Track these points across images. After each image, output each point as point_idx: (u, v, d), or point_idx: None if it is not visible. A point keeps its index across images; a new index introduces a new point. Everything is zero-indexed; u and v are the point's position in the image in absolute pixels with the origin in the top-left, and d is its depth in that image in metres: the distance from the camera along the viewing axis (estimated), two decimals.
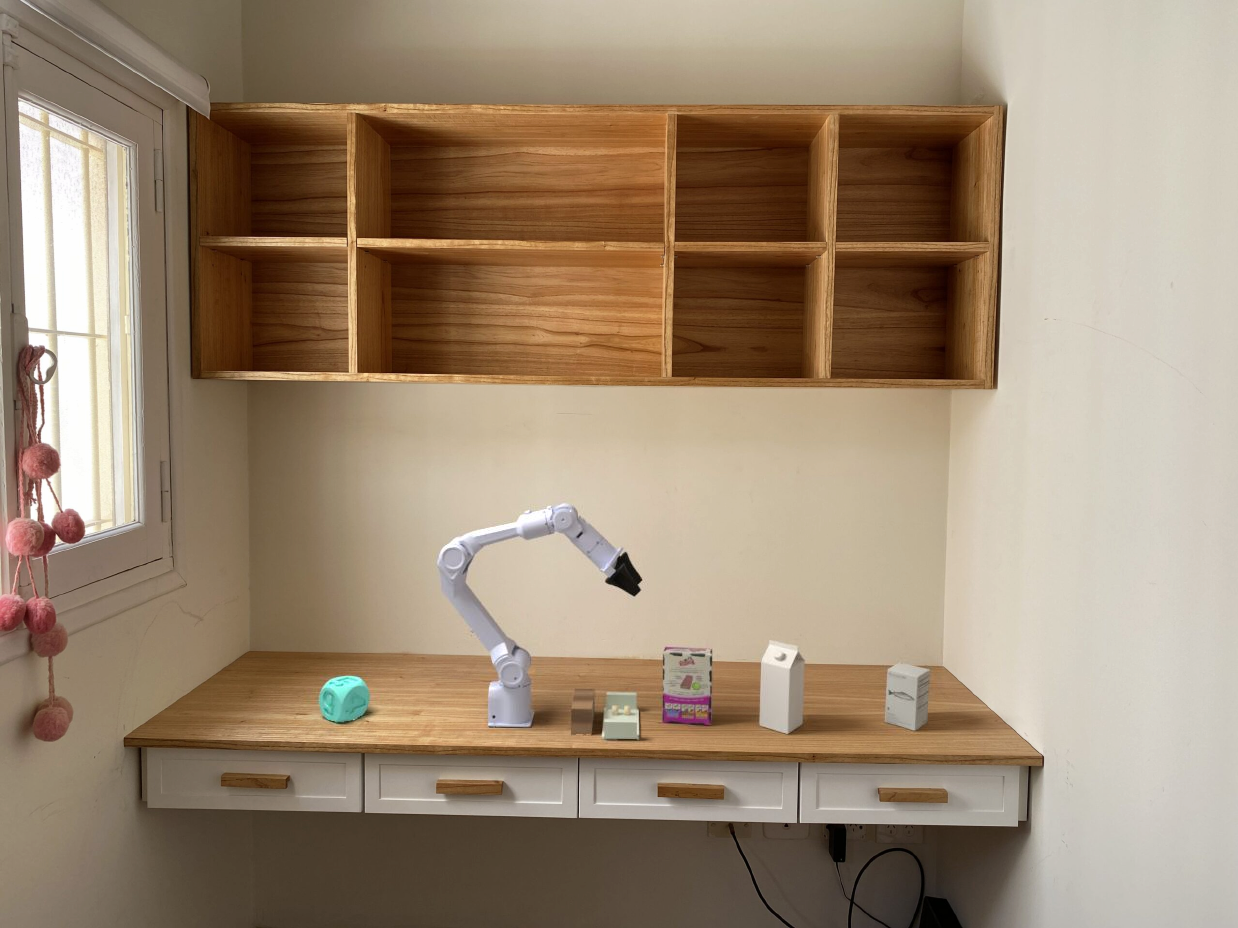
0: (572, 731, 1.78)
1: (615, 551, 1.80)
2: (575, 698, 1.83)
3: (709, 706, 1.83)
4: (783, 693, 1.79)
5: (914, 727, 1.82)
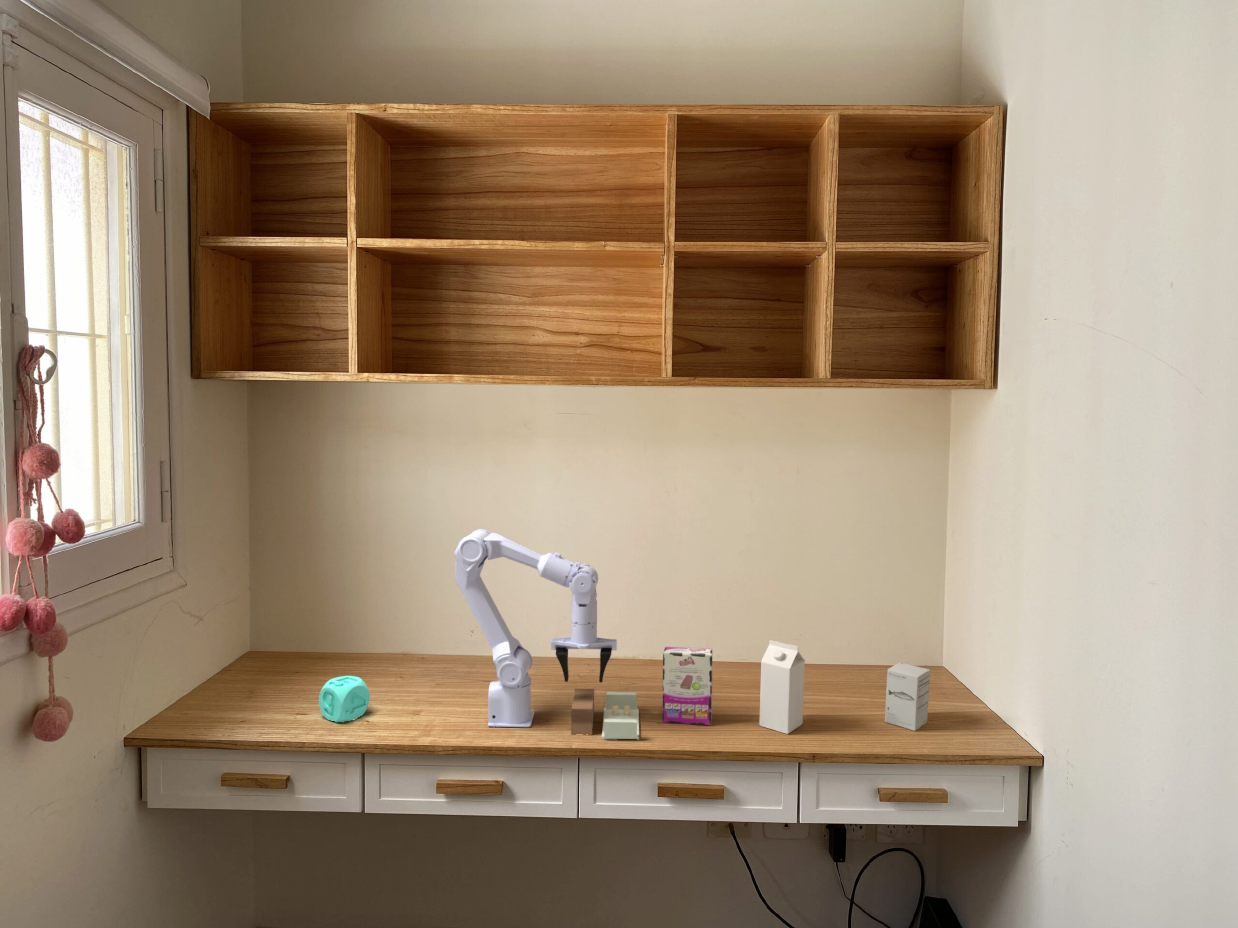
0: (572, 731, 1.78)
1: (578, 642, 1.79)
2: (575, 698, 1.83)
3: (709, 706, 1.83)
4: (783, 693, 1.79)
5: (914, 727, 1.82)
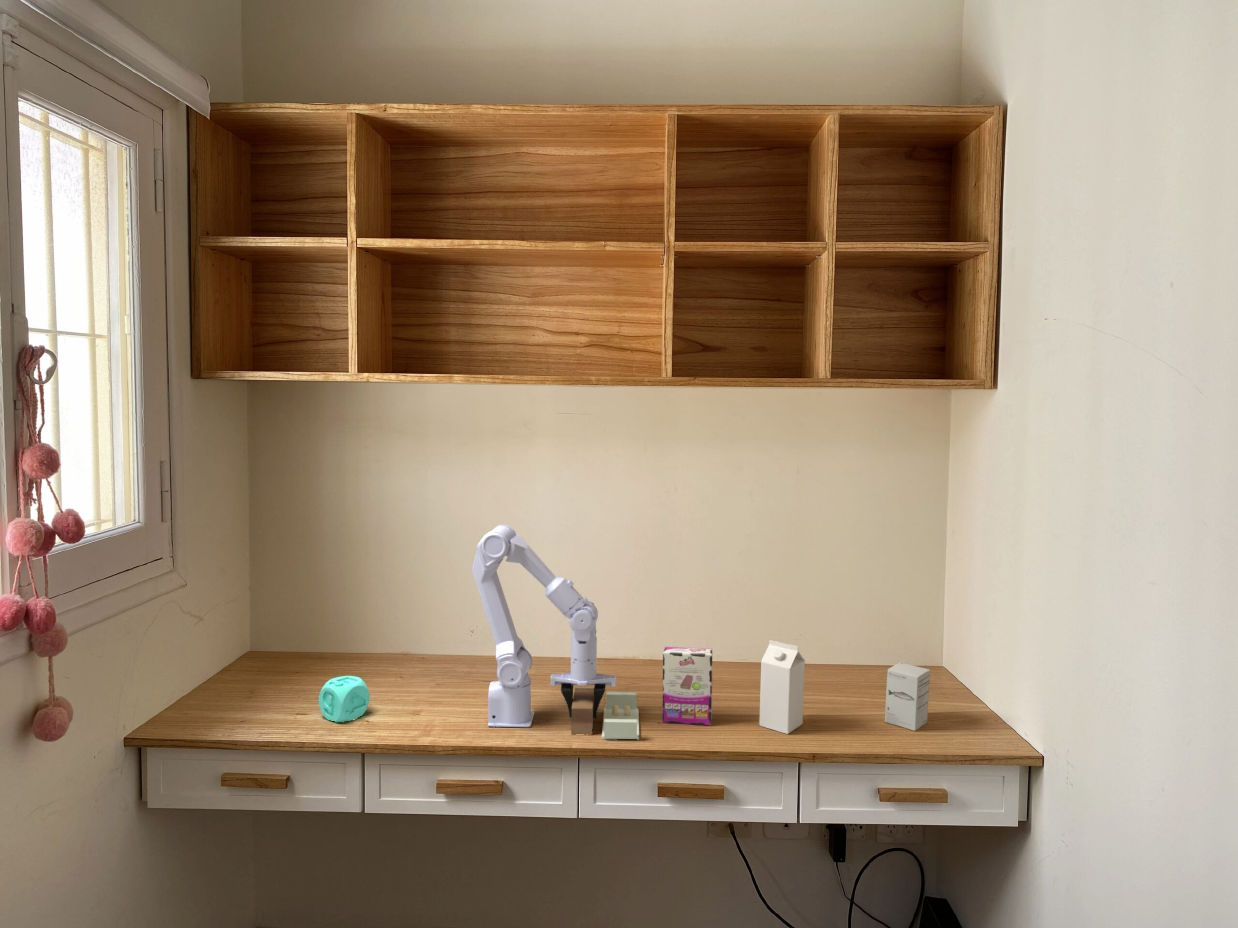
0: (572, 731, 1.78)
1: (578, 678, 1.80)
2: (575, 697, 1.83)
3: (709, 706, 1.83)
4: (783, 693, 1.79)
5: (914, 727, 1.82)
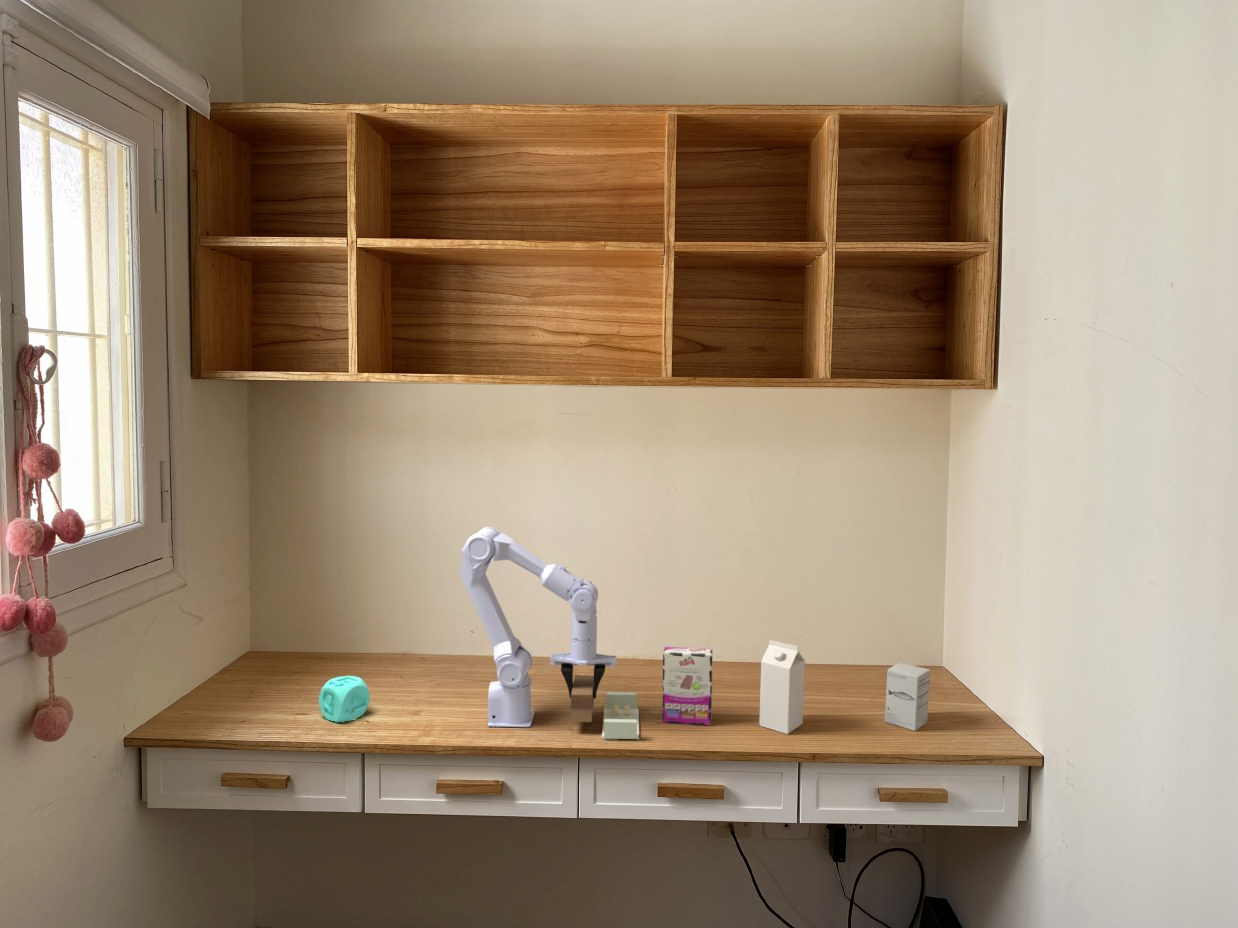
0: (572, 717, 1.77)
1: (578, 658, 1.80)
2: (575, 684, 1.83)
3: (709, 706, 1.83)
4: (783, 693, 1.79)
5: (914, 727, 1.82)
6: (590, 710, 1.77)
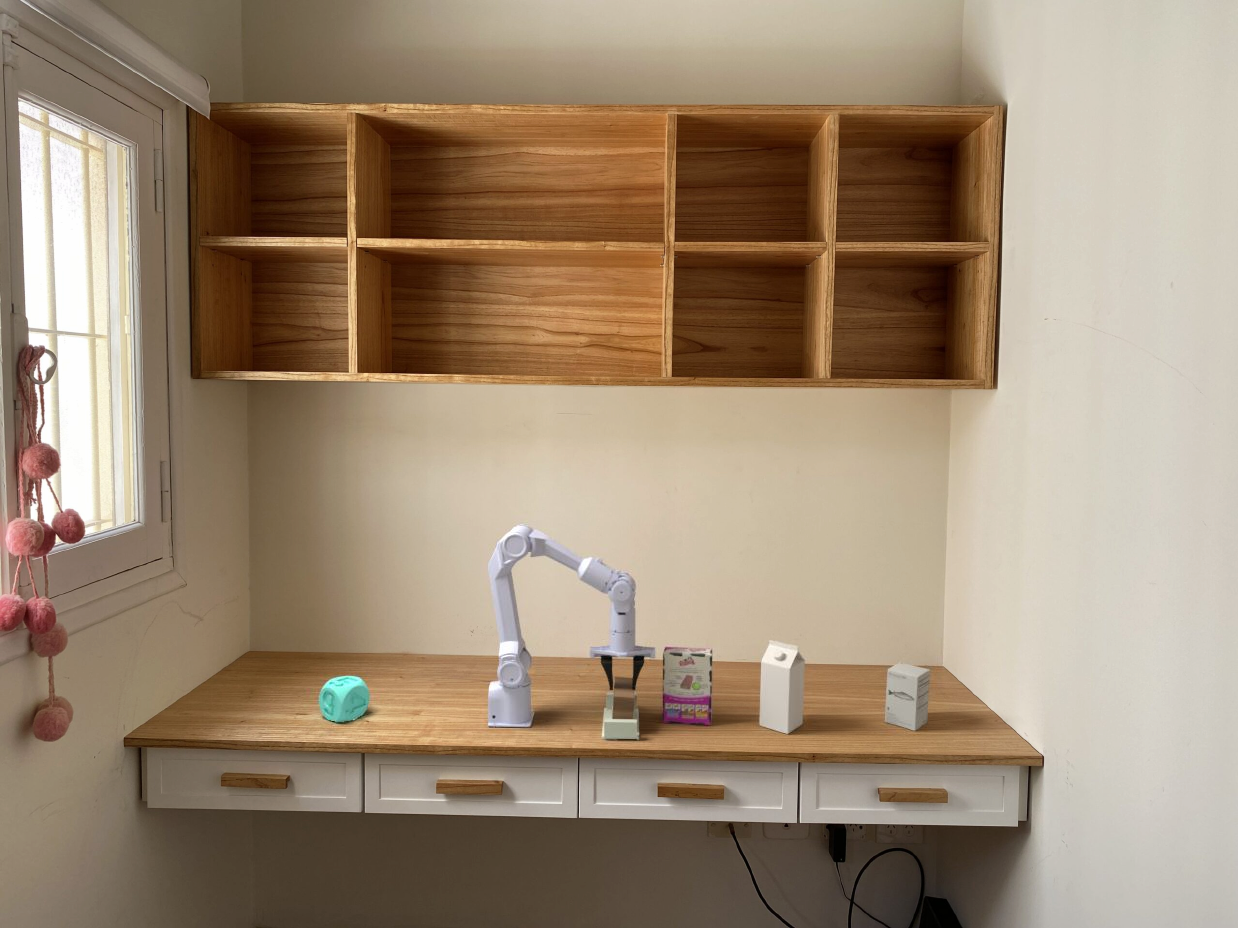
0: None
1: (617, 650, 1.79)
2: (616, 686, 1.83)
3: (709, 706, 1.83)
4: (783, 693, 1.79)
5: (914, 727, 1.82)
6: (632, 713, 1.77)
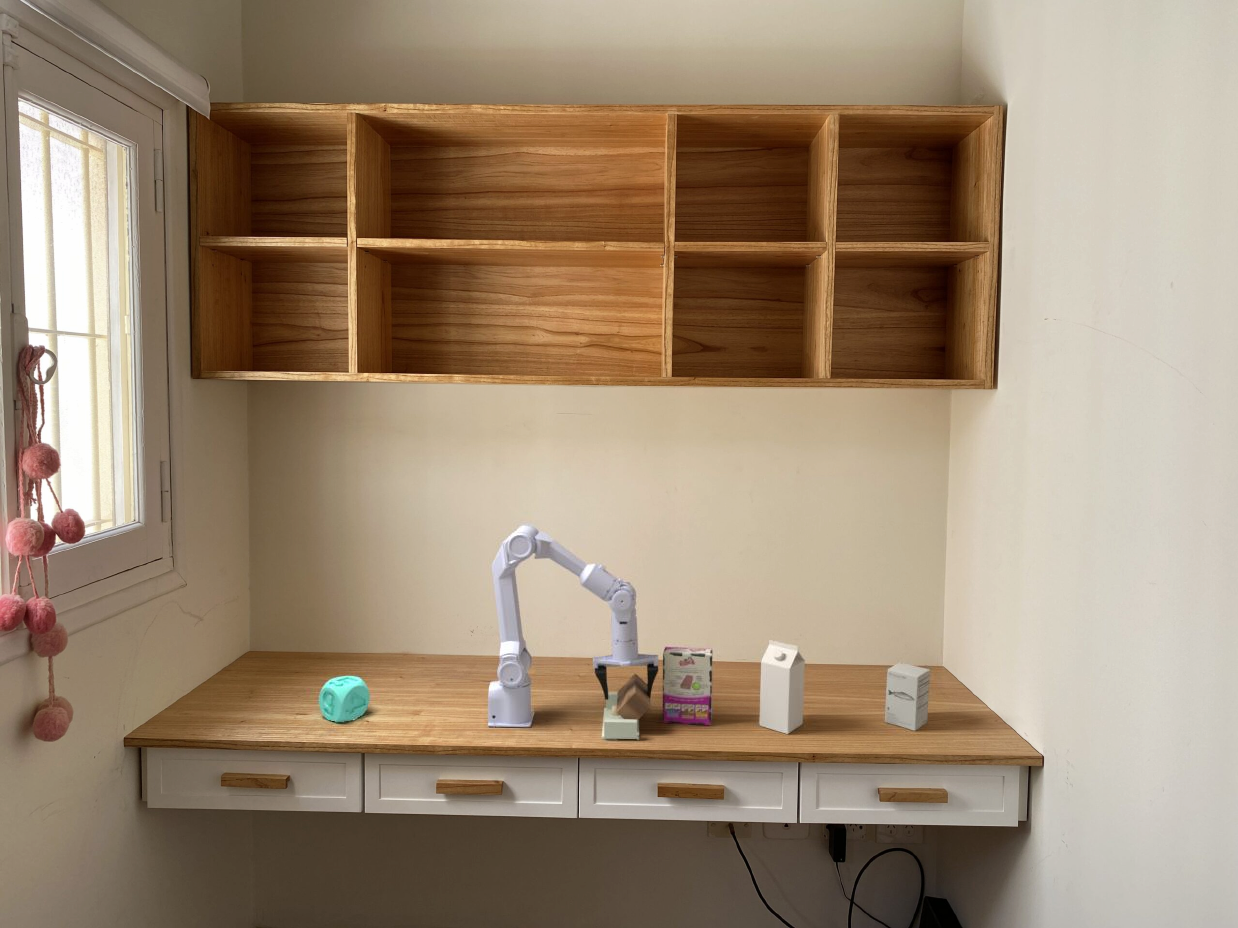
0: (620, 710, 1.77)
1: (620, 659, 1.80)
2: (636, 684, 1.83)
3: (709, 706, 1.83)
4: (783, 693, 1.79)
5: (914, 727, 1.82)
6: (639, 716, 1.77)
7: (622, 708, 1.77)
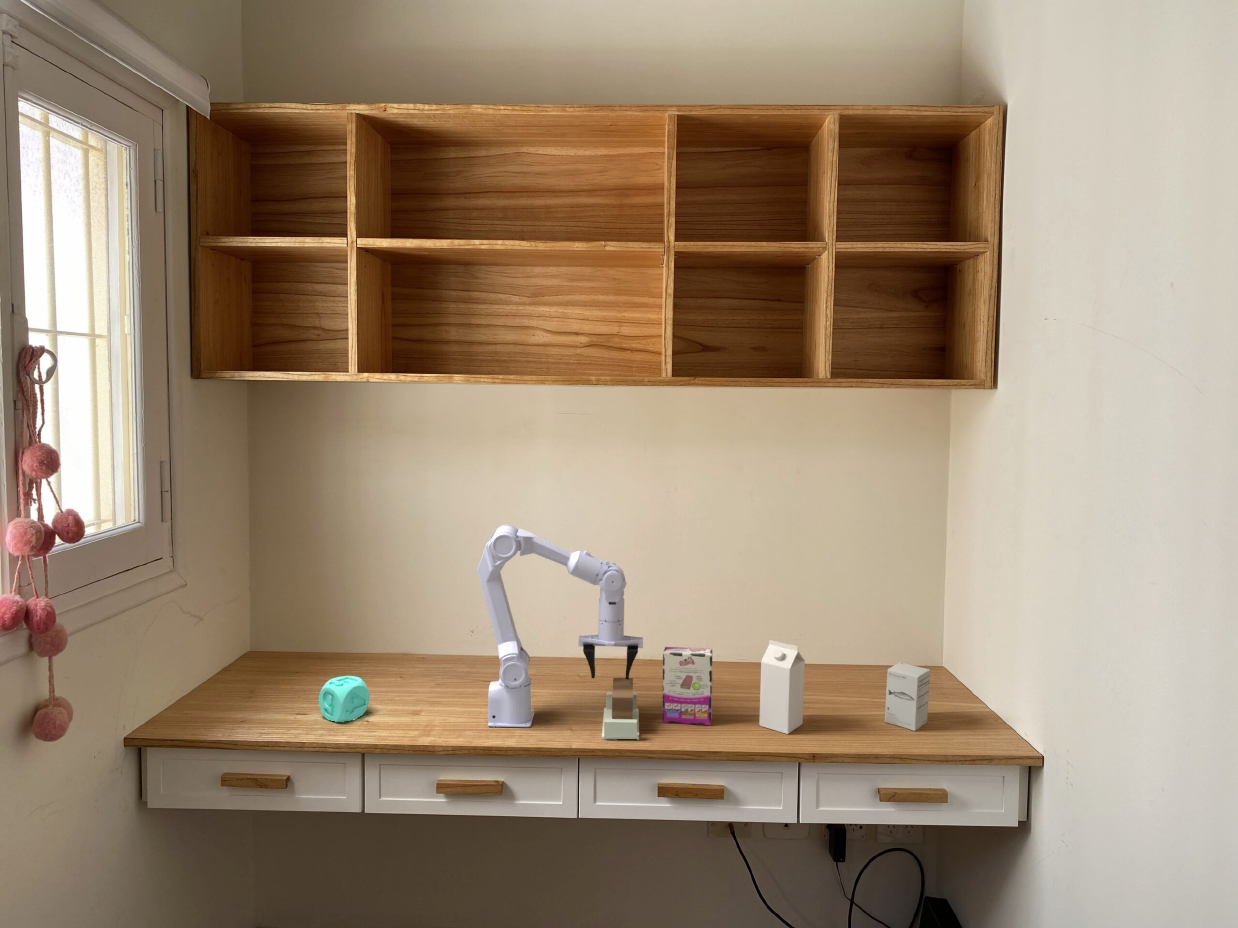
0: None
1: (606, 639, 1.82)
2: (615, 687, 1.83)
3: (709, 706, 1.83)
4: (783, 693, 1.79)
5: (914, 727, 1.82)
6: (631, 712, 1.77)
7: (613, 717, 1.77)
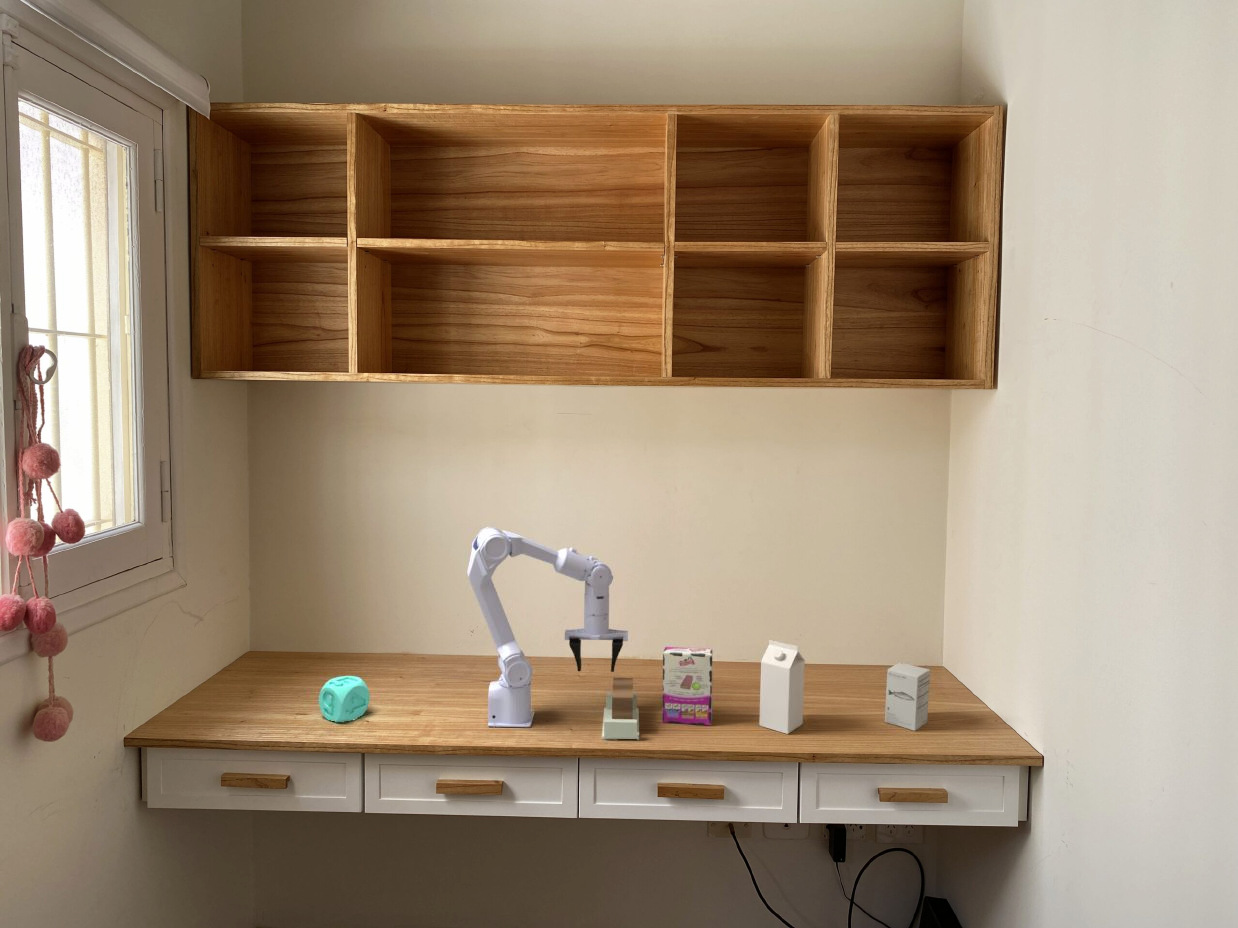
0: None
1: (591, 633, 1.86)
2: (615, 687, 1.83)
3: (709, 706, 1.83)
4: (783, 693, 1.79)
5: (914, 727, 1.82)
6: (631, 712, 1.77)
7: (613, 717, 1.77)
